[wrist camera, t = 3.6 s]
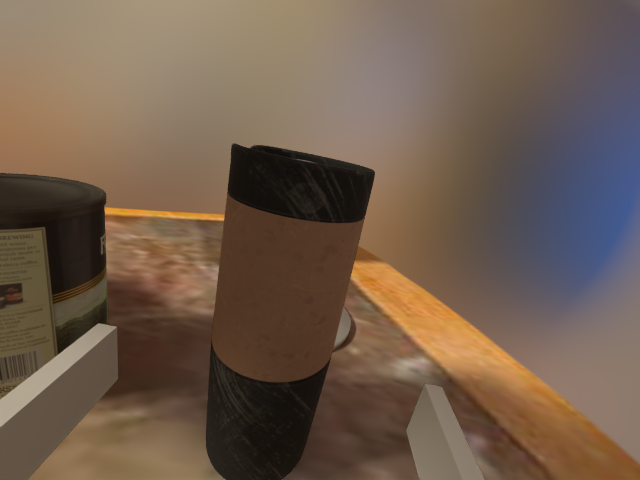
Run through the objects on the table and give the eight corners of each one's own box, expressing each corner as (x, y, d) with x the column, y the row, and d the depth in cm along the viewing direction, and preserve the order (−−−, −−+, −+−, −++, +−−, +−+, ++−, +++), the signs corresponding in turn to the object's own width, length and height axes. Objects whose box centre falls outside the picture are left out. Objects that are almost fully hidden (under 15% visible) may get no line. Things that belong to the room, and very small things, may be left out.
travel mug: (328, 458, 21) (408, 178, 15) (220, 520, 17) (271, 157, 11) (280, 381, 27) (323, 155, 21) (189, 412, 22) (210, 136, 16)
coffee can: (83, 310, 31) (75, 173, 26) (132, 363, 26) (132, 204, 21) (-82, 357, 22) (-135, 168, 18) (-59, 450, 17) (-124, 218, 13)
